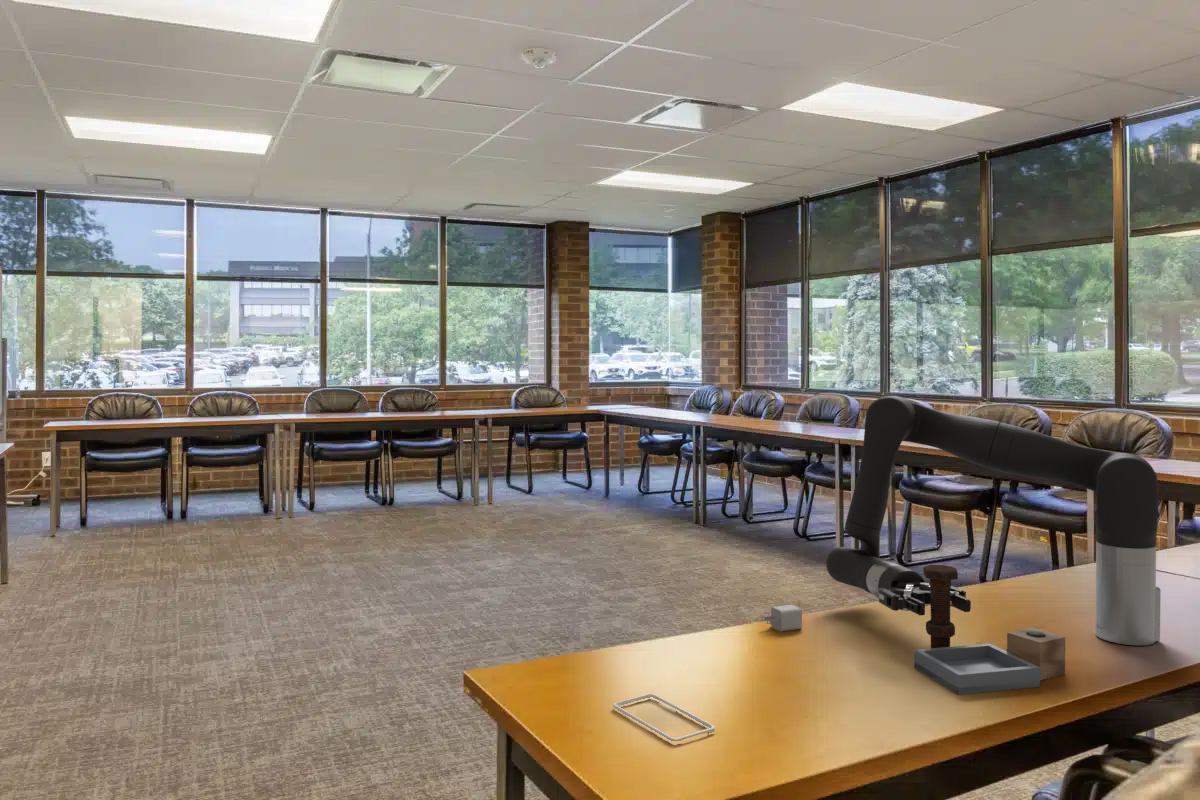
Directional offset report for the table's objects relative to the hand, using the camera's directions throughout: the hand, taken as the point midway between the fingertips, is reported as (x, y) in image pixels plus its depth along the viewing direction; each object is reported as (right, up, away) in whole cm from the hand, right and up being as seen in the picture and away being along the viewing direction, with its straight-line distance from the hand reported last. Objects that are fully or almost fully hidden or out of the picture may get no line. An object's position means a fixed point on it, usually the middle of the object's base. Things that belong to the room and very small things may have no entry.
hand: (946, 607), depth 146 cm
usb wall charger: (-24, -8, +18) cm, 31 cm away
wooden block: (+12, -9, -7) cm, 16 cm away
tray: (+1, -9, -9) cm, 13 cm away
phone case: (-50, -11, -25) cm, 57 cm away
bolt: (0, -9, +2) cm, 9 cm away
